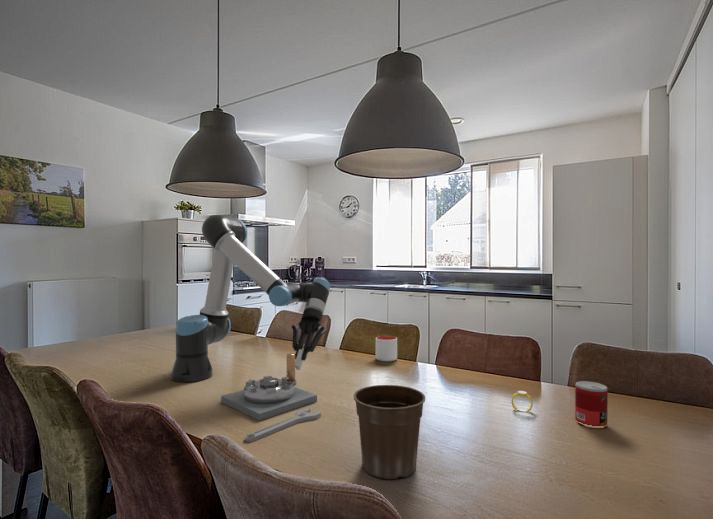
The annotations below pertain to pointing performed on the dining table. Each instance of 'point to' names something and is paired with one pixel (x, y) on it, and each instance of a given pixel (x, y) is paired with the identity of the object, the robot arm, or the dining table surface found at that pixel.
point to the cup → (386, 348)
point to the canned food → (591, 403)
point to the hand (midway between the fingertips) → (297, 367)
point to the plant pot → (389, 429)
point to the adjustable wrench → (283, 424)
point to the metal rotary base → (272, 386)
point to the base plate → (268, 410)
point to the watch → (522, 395)
